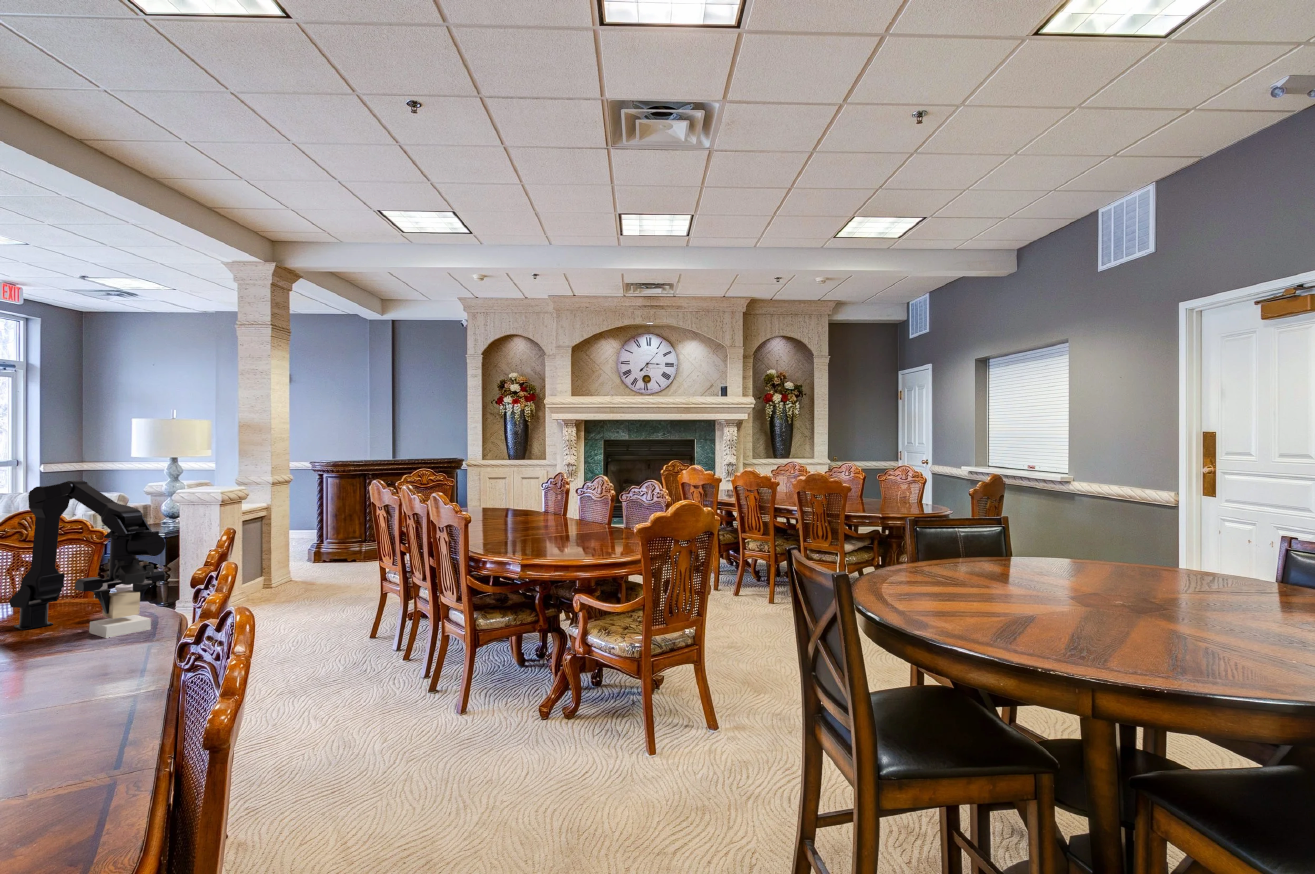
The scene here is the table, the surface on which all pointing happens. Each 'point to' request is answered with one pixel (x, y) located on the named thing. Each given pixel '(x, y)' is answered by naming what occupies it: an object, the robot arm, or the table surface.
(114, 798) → the table surface
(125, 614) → the maple cube
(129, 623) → the plinth
